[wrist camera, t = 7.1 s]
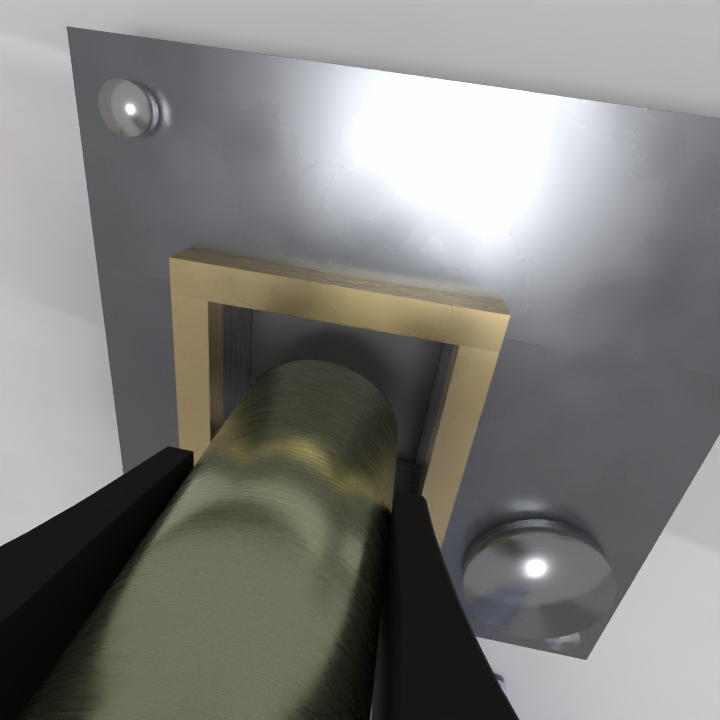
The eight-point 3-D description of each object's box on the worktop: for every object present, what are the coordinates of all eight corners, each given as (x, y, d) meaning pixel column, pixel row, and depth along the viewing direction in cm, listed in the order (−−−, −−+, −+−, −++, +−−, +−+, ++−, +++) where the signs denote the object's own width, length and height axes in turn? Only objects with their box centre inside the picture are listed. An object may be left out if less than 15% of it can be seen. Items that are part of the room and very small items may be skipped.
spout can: (380, 509, 14) (293, 1179, 5) (235, 475, 14) (-98, 1066, 5) (416, 377, 12) (375, 1130, 3) (245, 339, 12) (-284, 939, 3)
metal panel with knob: (568, 600, 20) (594, 687, 17) (166, 518, 21) (120, 585, 18) (805, 140, 12) (938, 144, 9) (129, 44, 13) (33, 16, 10)
